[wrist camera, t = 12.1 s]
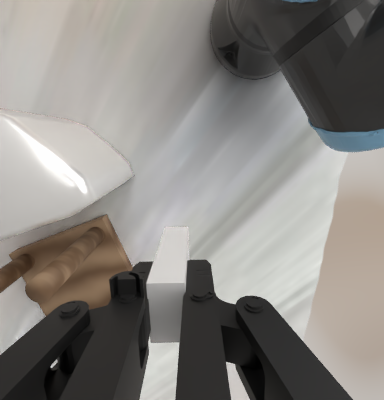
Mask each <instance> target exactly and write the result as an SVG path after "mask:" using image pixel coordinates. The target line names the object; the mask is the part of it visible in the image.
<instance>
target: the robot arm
mask: <svg viewBox="0 0 384 400" xmlns="http://www.w3.org/2000/svg"><path fill="white" fill-rule="evenodd" d="M210 34H211V42H212V46H213V49H214V52H215V54H216V56H217V58H218V59H219V61H220V62H221V63H222V65H223V66H224V67H225V68H226V69H227V70H229V71H230V72H231V73H233V74H235V75H237V76H239V77H242V78H246V79H261V78H265V77H268V76H271V75H273V74H275V73H276V72H278V71H279V70H281V71H282V73H283V75H284V76H285V78H286V80H287V82H288V83H289V85H290V87H291V88H292V90H293V92H294V94H295V95H296V97H297V99H298V101H299V102H300V104H301V106H302V107H303V109H304V111H305V113H306V114H307V116H308V121H309V124H310V126H311V127H313V129H314V130H316V131H317V133H318V135H319V136H320V138H321V139H322V141H323V142H324V143H325V144H326V145H327V146H329V147H330V148H332V149H334V150H337V151H342V152H361V151H368V150H373V149H378V148H383V147H384V0H217V1H216V3H215V6H214V9H213V13H212V19H211V27H210ZM109 284H110V293H111V300H110V302H109V303H108V305H106V306H102V307H99V308H94V309H90V310H89V305H88V304H87V302H84V301H81V300H75V301H69V302H67V303H64V304H62V305H60V306H58V307H57V308H55V309H54V310H53V311H52V312H51V313H49V314H48V315H47V316H46V317H45V318H44V319H42V320H41V321H40V322H39V323H38V324H36V325H35V326H34V327H33V328H32V329H31V330H29V331H28V332H27V333H26V334H25V335H23V336H22V337H21V338H20V339H19V340H18V341H16V342H15V343H14V344H13V345H12V346H10V347H9V348H8V349H7V350H6V351H5V352H3V353H2V354H1V355H0V400H139V398H140V393H141V388H142V384H143V379H144V374H145V369H146V364H147V359H148V355H149V347H148V340H149V336H150V339H151V343H162V342H180V345H179V359H178V372H177V386H176V400H231V396H230V389H229V382H228V375H227V367H226V362H230V363H233V364H235V366H236V370H237V372H238V374H239V377H240V379H241V381H242V383H243V385H244V387H245V390H246V392H247V394H248V396H249V398H250V400H353V399H352V398H351V397H350V396H349V395H348V393H347V392H346V391H345V390H344V389H343V387H342V386H341V385H340V384H339V383H338V382H337V381H336V379H335V378H334V377H333V376H332V375H331V374H330V372H329V371H328V370H327V369H326V368H325V367H324V366H323V364H322V363H321V362H320V361H319V360H318V358H317V357H316V356H315V355H314V354H313V353H312V351H311V350H310V349H309V348H308V347H307V346H306V344H305V343H304V342H303V341H302V340H301V339H300V337H299V336H298V335H297V334H296V333H295V332H294V330H293V329H292V328H291V327H290V326H289V325H288V323H287V322H286V321H285V320H284V319H283V318H282V317H281V315H280V314H279V313H278V312H277V311H276V310H275V308H274V307H273V306H272V305H271V304H270V303H269V302H268V301H267V300H265V299H263V298H261V297H257V296H245V297H242V298H240V299H239V300H238V301H237V302H236V305H235V304H230V303H227V302H224V301H222V300H220V299H219V298H218V297H217V296H216V294H215V292H214V285H213V278H212V271H211V264H210V263H209V262H208V261H207V260H189V233H188V226H182V227H165V228H164V231H163V234H162V237H161V240H160V243H159V246H158V249H157V252H156V255H155V258H154V261H153V262H139V263H138V264H136V265H135V266H134V267H133V269H132V271H124V272H120V273H117V274H115V275H114V276H112V277H111V278H110V279H109ZM56 359H57V361H58V363H57V364H56V365H55V366H54V367H53V368H50V366H51V365H52V363H53V362H54V361H55V360H56Z"/></svg>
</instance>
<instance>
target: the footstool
mask: <svg viewBox="0 0 384 400" xmlns="http://www.w3.org/2000/svg"><path fill="white" fill-rule="evenodd" d="M9 256H10V257H11V259H12V261H11V262H10V263H8V264H7V265H5V266H4V267H2V268H1V269H0V293H1V292H2V291H3V290H5V289H6V288H7V287H8V286H10V285H11V284H12V283H13V282H15V281H16V280H17V279H19V278H20V277H21V276H22V277H23V279H24V280H25V282H26V287H25V291H26V294H27V296H28V297H29V298H30V299H31V300H33V301H35V302H38V304H39V305H40V307H41V309H42V310H43V312H44V314H45V315H46V316H47V315H48V314H49V313H51V312H52V311H53V310H54V309H55V308H57V307H58V306H60V305H62V304H64V303H67V302H69V301H75V300H81V301H84V302H87V304H88V305H89V310H90V309H94V308H99V307H102V306H106V305H108V303H109V302H110V300H111V293H110V284H109V279H110V278H111V277H112V276H114V275H115V274H117V273H120V272H124V271H132V269H133V267H132V265H131V263H130V261H129V259H128V257H127V255H126V253H125V251H124V249H123V247H122V245H121V243H120V241H119V239H118V237H117V235H116V233H115V230H114V228H113V226H112V224H111V222H110V220H109V218H108V216H107V215H104V216H102V217H99V218H96V219H94V220H91V221H89V222H86V223H84V224H81V225H78V226H76V227H73V228H71V229H68V230H65V231H63V232H60V233H58V234H55V235H53V236H50V237H47V238H45V239H42V240H40V241H37V242H35V243H32V244H29V245H27V246H24V247H22V248H19V249H17V250H15V251H14V252H12V253H10V254H9Z"/></svg>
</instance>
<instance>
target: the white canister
mask: <svg viewBox="0 0 384 400" xmlns="http://www.w3.org/2000/svg"><path fill="white" fill-rule="evenodd" d="M133 176H135V175H134V173H133V170H132V168H131V165H130V163H129V162H128V161H127V160H126V159H125V158H124V157H123V156H122V155H121V154H120V153H119V152H118V151H117V150H115V149H114V148H113V147H112V146H111V145H110V144H109V143H107V142H106V141H105V140H104V139H103V138H101V137H100V136H99V135H98V134H96V133H95V132H94V131H93V130H92V129H90V128H89V127H88V126H85V125H82V124H80V123H77V122H74V121H71V120H69V119H65V118H58V117H52V116H46V115H40V114H34V113H28V112H22V111H16V110H10V109H3V108H0V241H2V240H5V239H7V238H10V237H13V236H16V235H19V234H22V233H25V232H28V231H30V230H33V229H36V228H39V227H42V226H45V225H48V224H51V223H54V222H56V221H59V220H62V219H65V218H68V217H71V216H73V215H75V214H76V213H78V212H80V211H81V210H83V209H84V208H86V207H88V206H89V205H91V204H92V203H94V202H95V201H97V200H99V199H100V198H102V197H103V196H105V195H107V194H108V193H110V192H111V191H113V190H114V189H116V188H118V187H119V186H121V185H122V184H124V183H125V182H126V181H128V180H129V179H131V178H132V177H133Z"/></svg>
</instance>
